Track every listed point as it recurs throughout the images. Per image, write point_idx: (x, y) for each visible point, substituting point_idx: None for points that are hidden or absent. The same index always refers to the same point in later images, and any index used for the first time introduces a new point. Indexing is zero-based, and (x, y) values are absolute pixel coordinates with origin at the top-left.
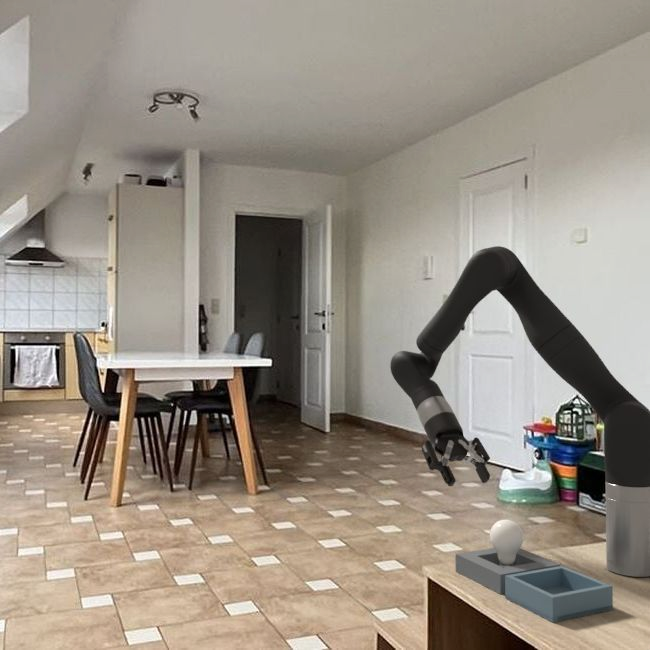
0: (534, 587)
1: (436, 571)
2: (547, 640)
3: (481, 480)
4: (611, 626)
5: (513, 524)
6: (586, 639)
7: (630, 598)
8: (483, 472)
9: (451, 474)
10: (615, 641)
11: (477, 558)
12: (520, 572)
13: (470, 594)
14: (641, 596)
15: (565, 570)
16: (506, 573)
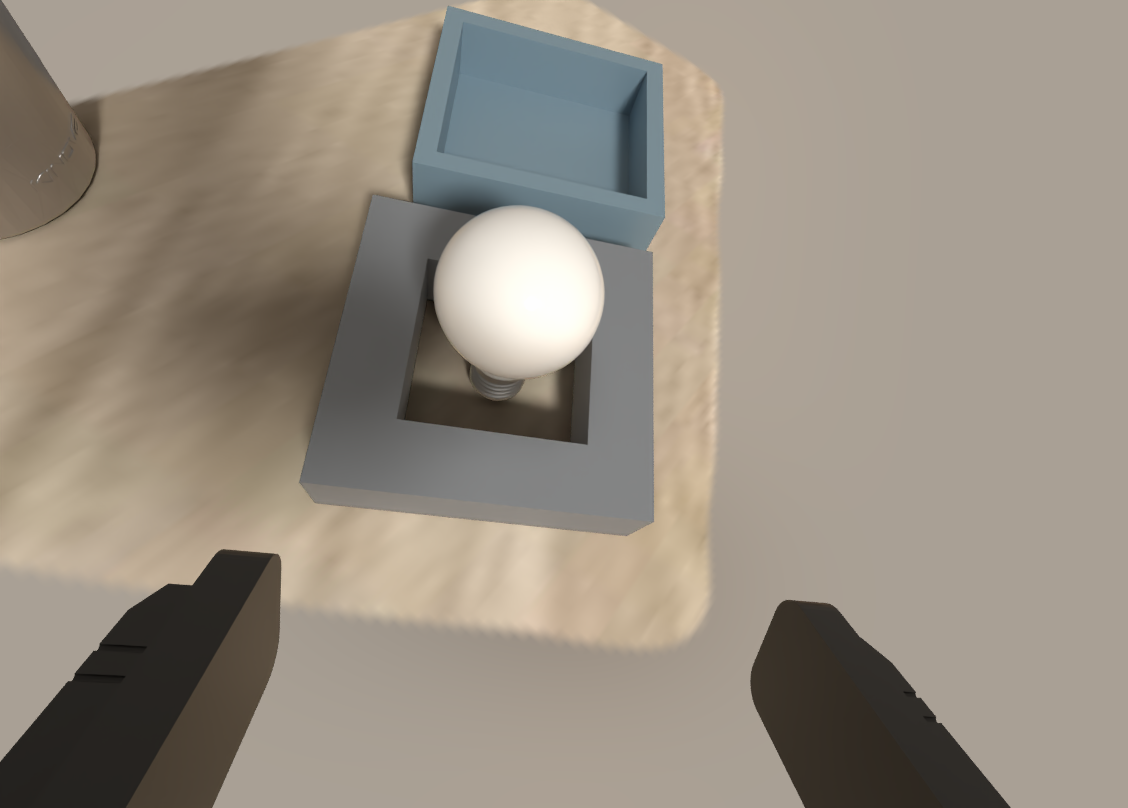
0: (654, 119)
1: (692, 580)
2: (710, 89)
3: (259, 697)
4: None
5: (527, 209)
6: (637, 48)
7: (317, 71)
8: (234, 643)
9: (861, 668)
10: (593, 15)
11: (609, 418)
12: None
13: (709, 339)
14: (271, 59)
15: (439, 139)
16: (625, 248)
